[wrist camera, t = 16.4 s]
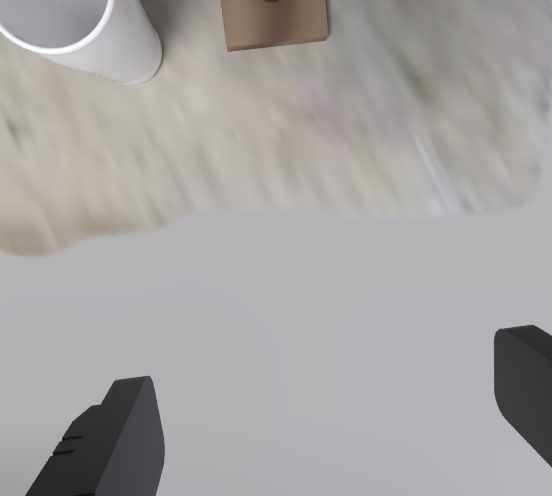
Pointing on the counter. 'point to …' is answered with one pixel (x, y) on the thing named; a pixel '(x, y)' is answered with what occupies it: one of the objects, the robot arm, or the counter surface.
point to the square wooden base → (273, 23)
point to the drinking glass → (86, 36)
